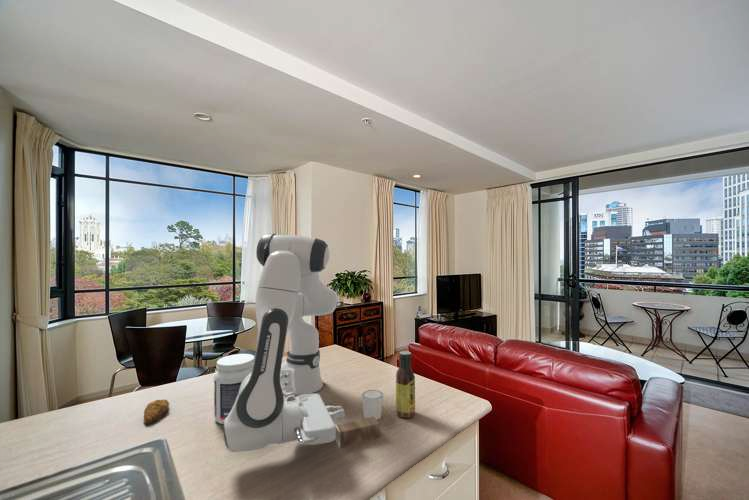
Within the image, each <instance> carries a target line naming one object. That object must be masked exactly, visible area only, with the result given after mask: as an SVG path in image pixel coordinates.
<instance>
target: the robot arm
mask: <svg viewBox="0 0 749 500" xmlns="http://www.w3.org/2000/svg"><path fill="white" fill-rule="evenodd" d="M255 254H256V259H257V261H258V263H259V264H260V265H262V266H263V268H262V271H261V273H260V277H259V280H258V285H257V289H256V296H255V318H256V323H257V329H258V330H257V333H258V335H257V336H258V337H257V345H256V349H255V355H254V357H255V360H254V365H253V370H252V372H251V373H250V374H248V375H247V376H246V377H245V378H244V380H243V382H242V383H241V386H240V389H239V392H238V395H237V398H236V401H235V403H234V405H233V407H232V409H231V411H230V413H229V415H228V416H227V417H226V419H225V420H224V424H222V425H223V426H222V427H223V429H222V430H223V438H224V443H225V446H226V447H227V449H228V450H229V452H234V453H242V452H249V451H255V450H261V449H263V448H266V447H268V446H269V445H275V444H277V445H281V444H284V443H285V444H286V443H290V442H295V441H298V442H300V443H303V444H304V445H308V446H316V445H323V444H328V443H331V442H333V441H336V440H335V438H336V426H335V425H336V424H335V423H334V422H335V421H337V420H338V419H340V418H344V417H345V413H346V412H345V409H344V408H343V406H342V405H338V406H337V405H335V406H334V405H325V403H324V401H323V398H322V397H321V395H320V394H319V393H317V392H319V390H321V389H322V388H323V386H324V384H323V383H324V382H323V381H322V380H323V379H322V375H321V369H320V359H321V356H320V355H321V353H320V348H319V345H320V343H319V342H320V340H319V338H320V337H319V334H320V333H319V331H318V329H317V328H316V327H315V326H314V325H313V324H311V323H308V322H306V321H305V320H304V319H303V317H309V316H310V317H313V316H316V317H317V316H324V315H328V314H332V313H334V311H335V310H336V308H337V306H338V296H337V294H336V292H335V291H334V290H333V289H332V288H330V287H327V286H326V285H325V284H324V283H323V281H321V279H320V275H319V273H320V272H322V271H323V270H325V269H326V266H327V265H328V263H329V260H330V250H329V245H328V244H327V242H326V241H325V240H323V239H320V238H311V237H308V236H303V235H297V234H295V235H293V234H276V233H267V234H264V235H263V236H262V237H260V238H259V240H258V241H257V246H256V253H255ZM287 334H288V335H287ZM287 336H289V351H287V352H285V353H284V350H285V344H286V339H287ZM283 356H284V357H286V356H287V357H286V359H285V361H284V362H283ZM315 392H316V393H315ZM284 396H285V397H286V399H285V398H284ZM284 401H285V402H284Z"/></svg>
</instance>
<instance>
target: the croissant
mask: <svg viewBox="0 0 749 500" xmlns="http://www.w3.org/2000/svg"><path fill="white" fill-rule="evenodd" d="M169 407H170V403H169V400H168V399H156V400H154V401H151V402H149V403H147V405H146V407H145V409H144V412H143V414H144V415H143V419H144V422H145V425H151V424H153V423H155V422H156V421H158V420H159V419H160V418H161V417H162V416H163V415H164V414H166V412H167V411H168V409H169Z"/></svg>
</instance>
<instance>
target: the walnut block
mask: <svg viewBox="0 0 749 500" xmlns="http://www.w3.org/2000/svg"><path fill="white" fill-rule="evenodd" d="M380 425H381V424H380V422H379V421H378V420H377V419H376V418H375V417H370V418H365V417H364V418H361V419H357V420H352V421H347V422H343V423H338V424H335V426H336V438H335V440H334V441H335V442H336V444H337V446H338V448H343V447H346V446H350V445H354V444H359V443H363V442H365V441H366V442H367V441H371V440H375V439H378V438H380V437H381V436H380V431H381V430H380V427H381V426H380Z"/></svg>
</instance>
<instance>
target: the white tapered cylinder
mask: <svg viewBox="0 0 749 500" xmlns="http://www.w3.org/2000/svg"><path fill="white" fill-rule="evenodd" d="M361 398H362V400H361V401H362V408H363V409H362V411H363V417H364V419H365V418H370V417H375V418H376V419H377V421H378V420H379V419H381V418H382V413H383V412H382V410H383V402H384V393H383V392H382V391H381V390H379V389H378V390H377V389H368V390H365V391H363V392H362V393H361Z"/></svg>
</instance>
